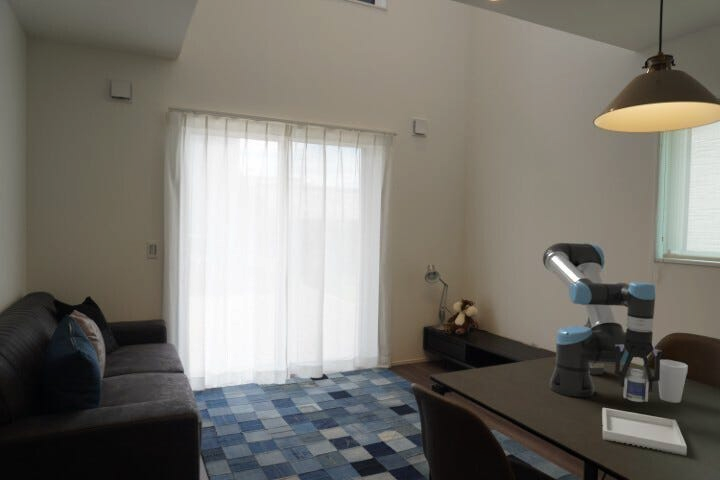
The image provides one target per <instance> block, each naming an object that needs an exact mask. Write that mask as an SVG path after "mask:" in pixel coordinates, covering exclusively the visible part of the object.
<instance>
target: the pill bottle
mask: <svg viewBox="0 0 720 480" xmlns="http://www.w3.org/2000/svg"><path fill="white" fill-rule="evenodd" d="M644 375H645V371H644V370H642V369H637V368H630V369H629V375H628V376H627V394H626V398H625V399H627V400H629V401H631V402H637V403H643V402H645V386H646V380H647V379H646V378H645V376H644ZM645 379H646V380H645Z"/></svg>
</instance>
